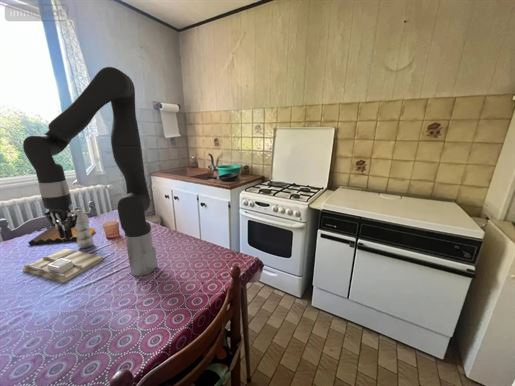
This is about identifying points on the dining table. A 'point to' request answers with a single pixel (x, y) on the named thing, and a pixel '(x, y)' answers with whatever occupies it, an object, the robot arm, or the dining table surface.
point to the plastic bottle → (82, 229)
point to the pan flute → (54, 236)
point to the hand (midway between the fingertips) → (66, 237)
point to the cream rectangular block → (60, 265)
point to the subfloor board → (78, 258)
